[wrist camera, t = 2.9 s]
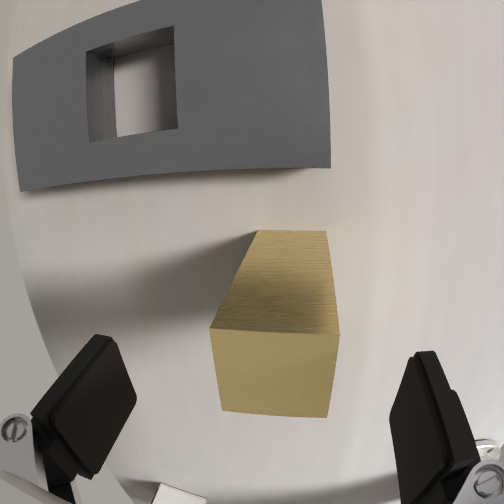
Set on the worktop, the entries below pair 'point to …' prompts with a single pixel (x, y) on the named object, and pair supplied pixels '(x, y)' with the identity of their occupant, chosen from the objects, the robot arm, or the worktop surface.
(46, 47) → the grey socket block
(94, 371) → the robot arm
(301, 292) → the brass peg
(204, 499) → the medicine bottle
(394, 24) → the worktop surface
